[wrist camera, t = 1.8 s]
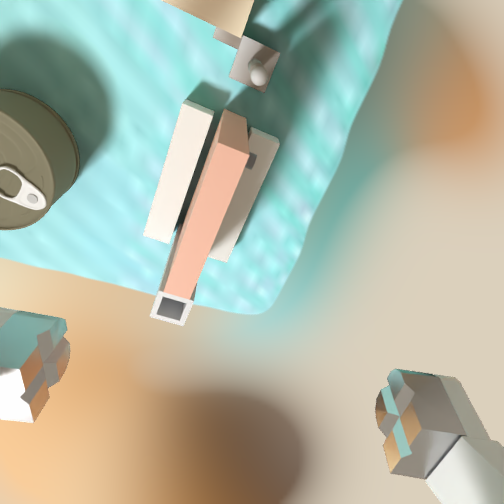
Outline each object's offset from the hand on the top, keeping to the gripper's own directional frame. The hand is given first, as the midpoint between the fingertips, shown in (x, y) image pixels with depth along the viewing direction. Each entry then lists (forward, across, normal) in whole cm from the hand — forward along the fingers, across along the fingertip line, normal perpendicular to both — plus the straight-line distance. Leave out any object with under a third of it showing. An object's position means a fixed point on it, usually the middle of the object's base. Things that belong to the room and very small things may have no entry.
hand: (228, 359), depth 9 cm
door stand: (+32, +5, +9) cm, 33 cm away
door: (+32, +4, +9) cm, 33 cm away
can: (+30, +24, +8) cm, 40 cm away
